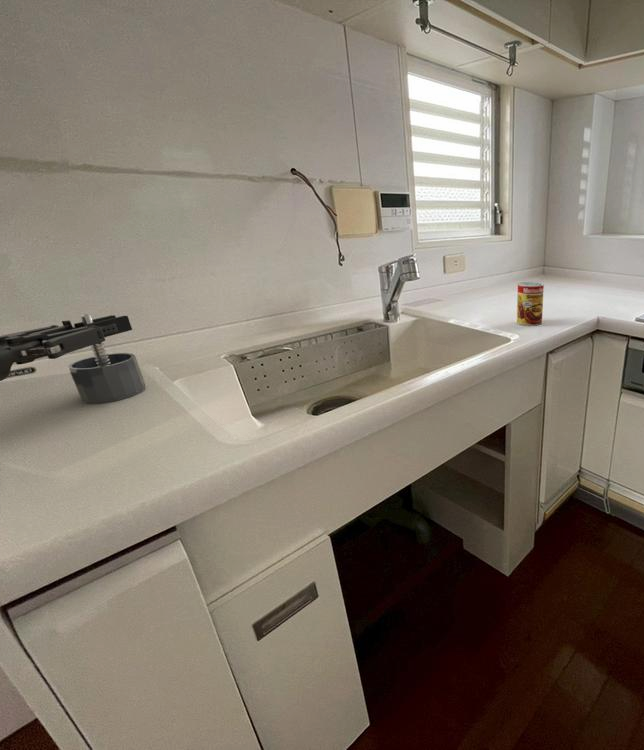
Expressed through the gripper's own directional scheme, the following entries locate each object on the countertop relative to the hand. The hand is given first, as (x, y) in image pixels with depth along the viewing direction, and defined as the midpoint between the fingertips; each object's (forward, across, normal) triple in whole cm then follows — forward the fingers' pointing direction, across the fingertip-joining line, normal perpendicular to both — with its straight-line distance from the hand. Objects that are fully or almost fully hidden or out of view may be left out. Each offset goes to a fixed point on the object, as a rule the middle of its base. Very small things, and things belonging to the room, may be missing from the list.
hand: (121, 322), depth 75 cm
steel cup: (-6, 0, -12) cm, 13 cm away
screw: (-6, 0, -10) cm, 12 cm away
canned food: (+57, +75, -12) cm, 95 cm away
